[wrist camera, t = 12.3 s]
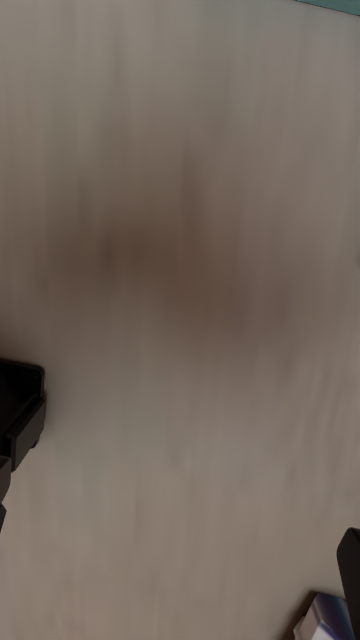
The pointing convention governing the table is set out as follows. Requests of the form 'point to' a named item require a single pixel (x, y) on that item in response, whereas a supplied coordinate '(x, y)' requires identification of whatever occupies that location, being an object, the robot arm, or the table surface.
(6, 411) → the robot arm
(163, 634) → the table surface
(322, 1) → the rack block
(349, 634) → the white spray bottle
